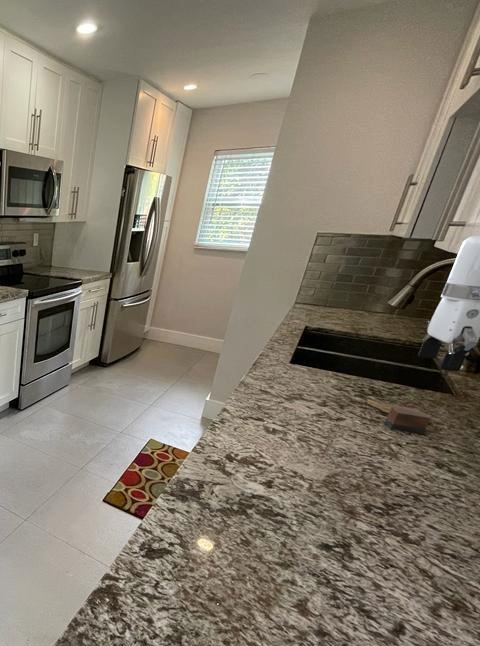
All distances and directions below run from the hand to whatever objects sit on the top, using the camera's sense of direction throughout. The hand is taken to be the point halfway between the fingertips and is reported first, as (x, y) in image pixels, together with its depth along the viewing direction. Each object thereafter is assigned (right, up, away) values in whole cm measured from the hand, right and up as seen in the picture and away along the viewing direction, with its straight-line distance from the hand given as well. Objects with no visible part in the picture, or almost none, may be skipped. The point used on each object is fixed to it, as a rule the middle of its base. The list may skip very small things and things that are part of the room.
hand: (437, 363), depth 99 cm
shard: (+1, -14, +11) cm, 18 cm away
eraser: (-4, -16, +4) cm, 17 cm away
